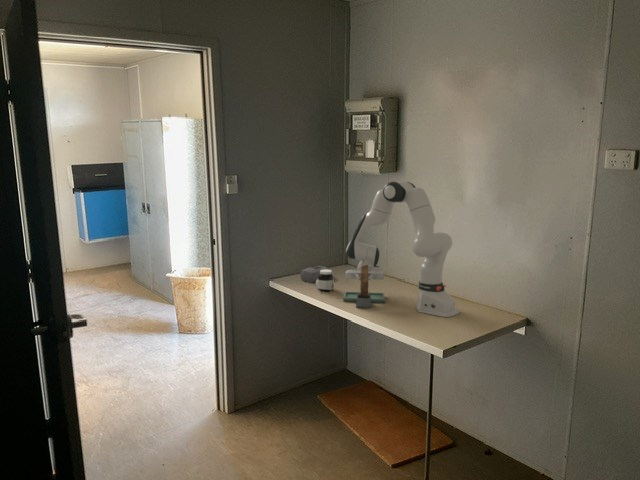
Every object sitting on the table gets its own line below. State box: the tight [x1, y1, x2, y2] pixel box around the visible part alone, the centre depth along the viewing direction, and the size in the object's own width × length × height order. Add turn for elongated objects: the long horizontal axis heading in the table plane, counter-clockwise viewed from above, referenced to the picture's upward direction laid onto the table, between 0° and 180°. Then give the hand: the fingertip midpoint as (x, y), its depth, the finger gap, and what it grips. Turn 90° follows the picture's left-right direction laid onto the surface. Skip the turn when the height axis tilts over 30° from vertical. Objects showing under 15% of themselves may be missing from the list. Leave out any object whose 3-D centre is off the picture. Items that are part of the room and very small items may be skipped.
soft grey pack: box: [299, 265, 331, 283], centre depth 319 cm, size 15×8×20 cm
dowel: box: [360, 265, 369, 297], centre depth 264 cm, size 4×4×16 cm
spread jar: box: [315, 269, 335, 293], centre depth 296 cm, size 12×11×12 cm
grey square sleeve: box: [355, 294, 372, 309], centre depth 267 cm, size 8×8×5 cm
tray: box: [342, 291, 386, 304], centre depth 279 cm, size 22×12×2 cm, turn 84°
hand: (364, 278), depth 263 cm, fingers closed on dowel, 4 cm apart
